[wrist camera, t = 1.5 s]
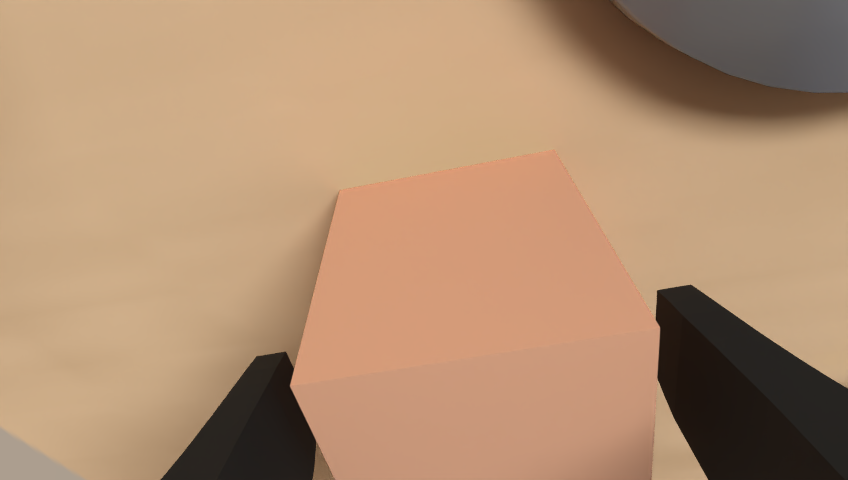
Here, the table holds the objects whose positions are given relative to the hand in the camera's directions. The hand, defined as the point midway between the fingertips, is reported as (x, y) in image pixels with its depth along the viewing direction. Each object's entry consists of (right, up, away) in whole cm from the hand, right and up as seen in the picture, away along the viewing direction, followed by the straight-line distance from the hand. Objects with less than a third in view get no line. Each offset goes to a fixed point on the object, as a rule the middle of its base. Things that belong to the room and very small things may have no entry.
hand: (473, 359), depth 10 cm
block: (0, +2, +3) cm, 4 cm away
